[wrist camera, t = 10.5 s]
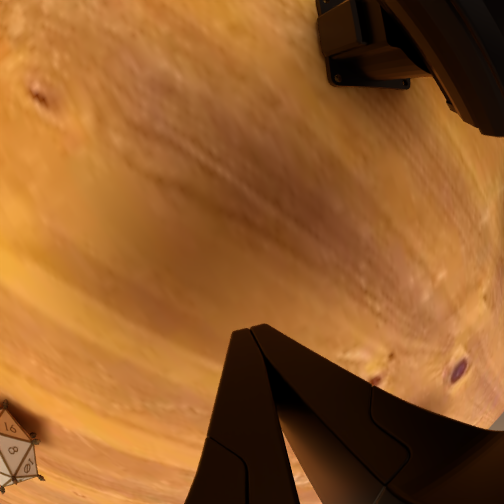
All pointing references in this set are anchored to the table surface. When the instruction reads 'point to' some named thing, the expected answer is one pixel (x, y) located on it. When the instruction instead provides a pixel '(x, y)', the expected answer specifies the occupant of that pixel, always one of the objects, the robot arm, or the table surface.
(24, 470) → the game die
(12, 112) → the table surface
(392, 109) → the table surface
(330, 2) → the robot arm
